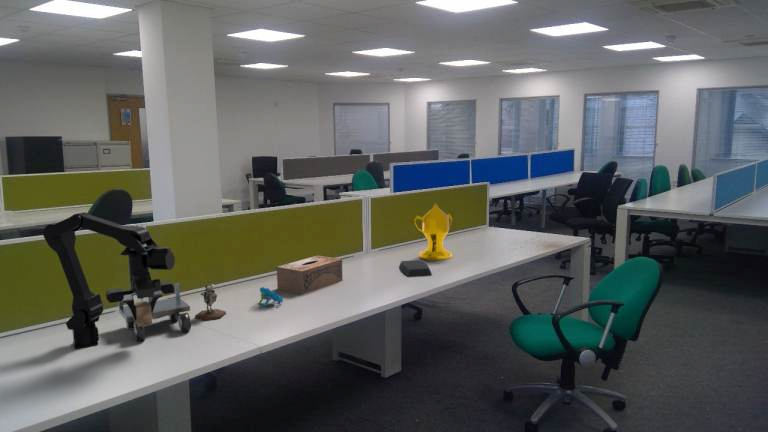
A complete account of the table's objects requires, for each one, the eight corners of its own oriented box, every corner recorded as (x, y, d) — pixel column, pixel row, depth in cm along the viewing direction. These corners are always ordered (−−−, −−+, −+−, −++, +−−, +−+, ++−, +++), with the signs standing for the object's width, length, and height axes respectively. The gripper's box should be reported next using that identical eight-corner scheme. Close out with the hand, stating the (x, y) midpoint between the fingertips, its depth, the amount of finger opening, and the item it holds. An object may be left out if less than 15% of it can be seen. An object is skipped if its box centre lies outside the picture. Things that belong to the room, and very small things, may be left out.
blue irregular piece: (288, 300, 216) (270, 286, 211) (280, 314, 214) (262, 299, 208) (273, 298, 224) (255, 284, 219) (265, 311, 222) (247, 297, 216)
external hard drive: (423, 266, 278) (423, 258, 277) (433, 276, 259) (433, 267, 258) (397, 268, 276) (397, 259, 275) (405, 277, 257) (405, 269, 256)
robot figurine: (190, 316, 204) (188, 284, 202) (211, 309, 212) (210, 278, 210) (208, 322, 198) (206, 289, 196) (230, 315, 205) (229, 283, 203)
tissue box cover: (318, 276, 260) (317, 255, 258) (342, 281, 252) (342, 259, 250) (277, 289, 239) (276, 266, 237) (302, 295, 231) (302, 271, 229)
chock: (138, 326, 171) (137, 307, 171) (134, 321, 176) (132, 303, 175) (152, 324, 174) (151, 305, 173) (147, 319, 179) (146, 300, 178)
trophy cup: (406, 256, 300) (405, 203, 295) (442, 250, 312) (443, 200, 308) (425, 262, 285) (425, 207, 281) (463, 256, 297) (463, 203, 293)
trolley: (132, 344, 177) (129, 306, 175) (120, 327, 193) (117, 292, 191) (196, 331, 188) (194, 295, 187) (180, 316, 204) (178, 283, 203)
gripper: (110, 279, 161) (114, 331, 163) (177, 269, 171) (181, 319, 173) (103, 271, 170) (108, 321, 172) (168, 263, 180) (171, 310, 183)
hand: (142, 318), depth 175 cm, fingers closed on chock, 4 cm apart
